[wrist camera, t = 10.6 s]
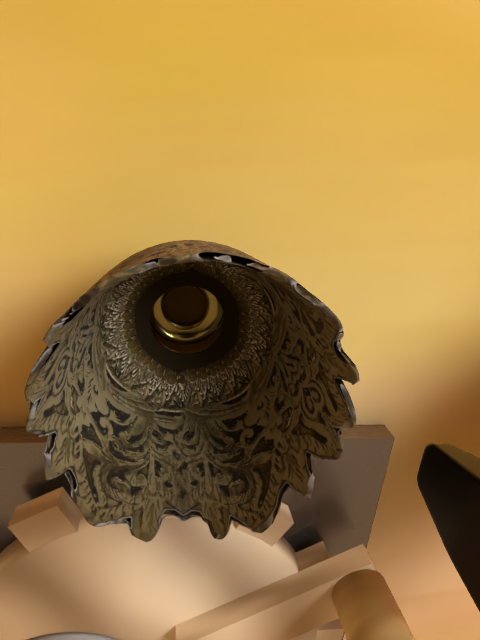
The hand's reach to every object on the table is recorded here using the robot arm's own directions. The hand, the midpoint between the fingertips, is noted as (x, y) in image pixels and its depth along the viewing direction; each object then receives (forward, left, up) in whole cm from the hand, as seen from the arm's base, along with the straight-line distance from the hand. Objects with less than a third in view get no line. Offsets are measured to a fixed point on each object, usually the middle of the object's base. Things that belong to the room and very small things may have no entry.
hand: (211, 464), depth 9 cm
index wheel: (+1, +16, -8) cm, 18 cm away
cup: (0, 0, -10) cm, 10 cm away
